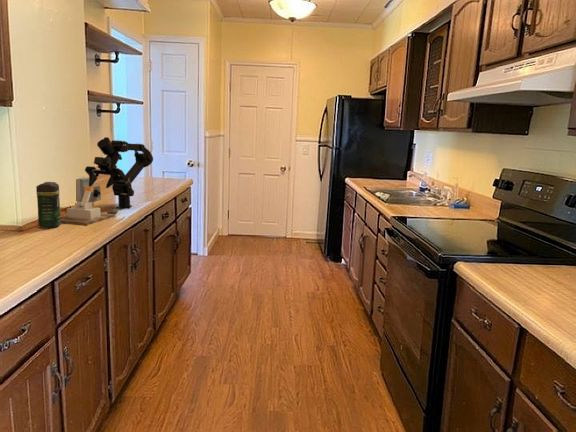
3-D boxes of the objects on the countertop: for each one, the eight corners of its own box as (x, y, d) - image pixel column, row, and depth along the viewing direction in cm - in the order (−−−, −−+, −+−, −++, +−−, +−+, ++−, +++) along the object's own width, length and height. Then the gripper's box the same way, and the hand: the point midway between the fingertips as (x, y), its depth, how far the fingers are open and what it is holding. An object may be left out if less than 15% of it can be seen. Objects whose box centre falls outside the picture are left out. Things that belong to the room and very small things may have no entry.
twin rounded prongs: (96, 211, 222) (96, 207, 222) (118, 213, 219) (118, 209, 219) (87, 213, 215) (87, 209, 215) (109, 215, 213) (109, 211, 212)
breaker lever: (81, 208, 204) (87, 187, 207) (87, 208, 203) (93, 188, 206) (78, 206, 202) (85, 185, 205) (85, 207, 201) (91, 186, 204)
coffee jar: (57, 228, 185) (54, 183, 181) (36, 229, 183) (33, 183, 179) (63, 223, 194) (60, 180, 190) (43, 223, 192) (40, 180, 188)
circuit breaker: (95, 209, 225) (93, 180, 222) (69, 207, 228) (68, 178, 225) (104, 207, 232) (102, 178, 230) (79, 205, 235) (77, 176, 232)
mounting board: (81, 213, 215) (81, 211, 215) (114, 216, 212) (114, 214, 211) (51, 221, 196) (51, 219, 196) (87, 225, 192) (87, 222, 192)
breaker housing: (77, 214, 208) (76, 200, 207) (100, 216, 206) (100, 202, 205) (67, 217, 202) (66, 202, 200) (90, 219, 199) (90, 204, 198)
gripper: (85, 149, 215) (71, 175, 208) (120, 151, 211) (107, 177, 203) (97, 164, 225) (84, 189, 217) (130, 166, 221) (118, 192, 213)
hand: (98, 186), depth 212 cm, fingers open, 9 cm apart
